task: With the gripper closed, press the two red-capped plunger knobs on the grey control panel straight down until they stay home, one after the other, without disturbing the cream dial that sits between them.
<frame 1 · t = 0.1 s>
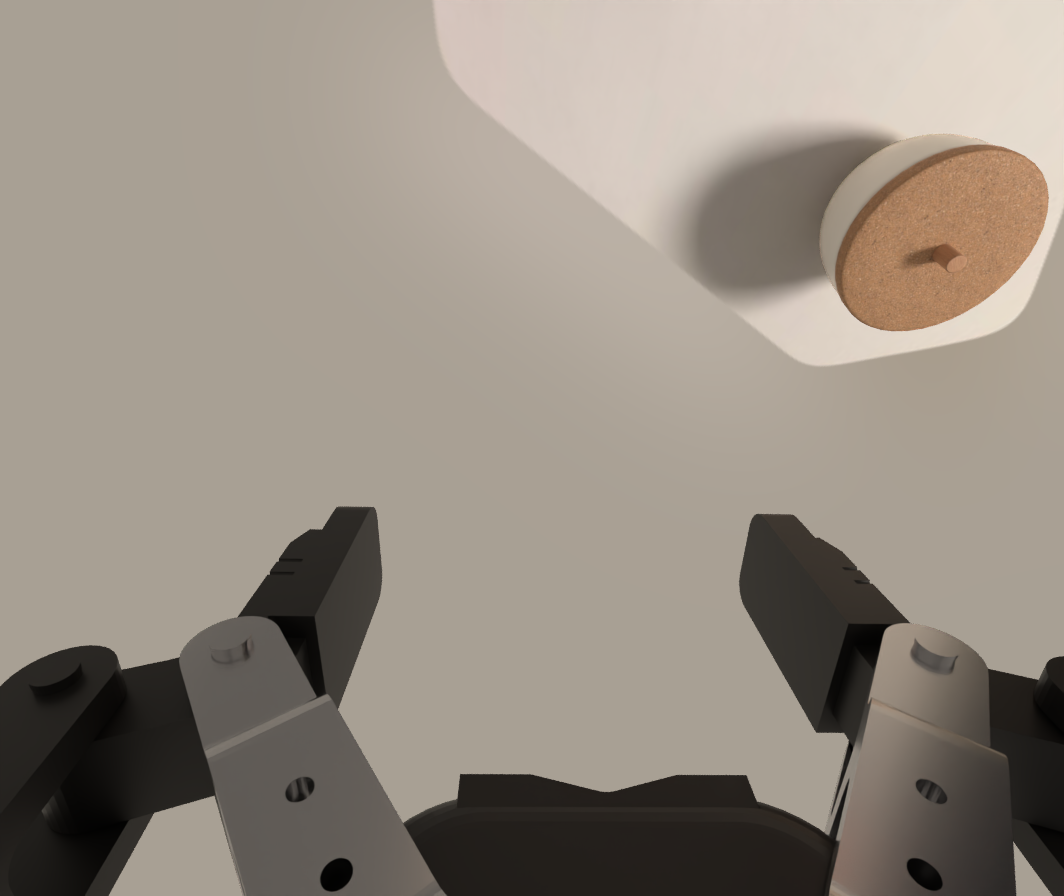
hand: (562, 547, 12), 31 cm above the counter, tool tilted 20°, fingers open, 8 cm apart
lidded jar: (877, 200, 38), on the counter
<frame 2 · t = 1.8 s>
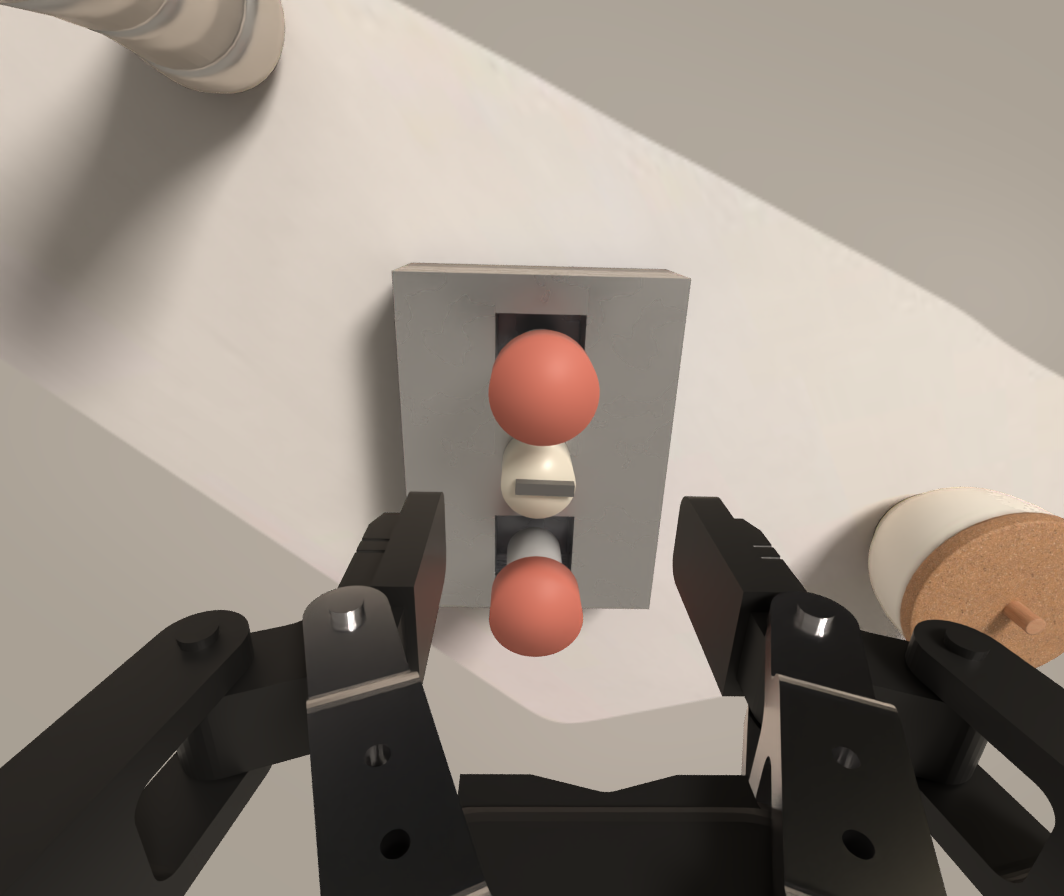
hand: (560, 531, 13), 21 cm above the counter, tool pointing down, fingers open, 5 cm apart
knob outer: (534, 581, 29), point 8 cm above the counter, slide at 0.0 cm
lidded jar: (916, 531, 38), on the counter
panel: (534, 428, 35), on the counter
dial: (536, 461, 30), point 5 cm above the counter, touching panel
knob inner: (541, 375, 25), point 8 cm above the counter, slide at 0.0 cm
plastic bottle: (230, 26, 27), on the counter
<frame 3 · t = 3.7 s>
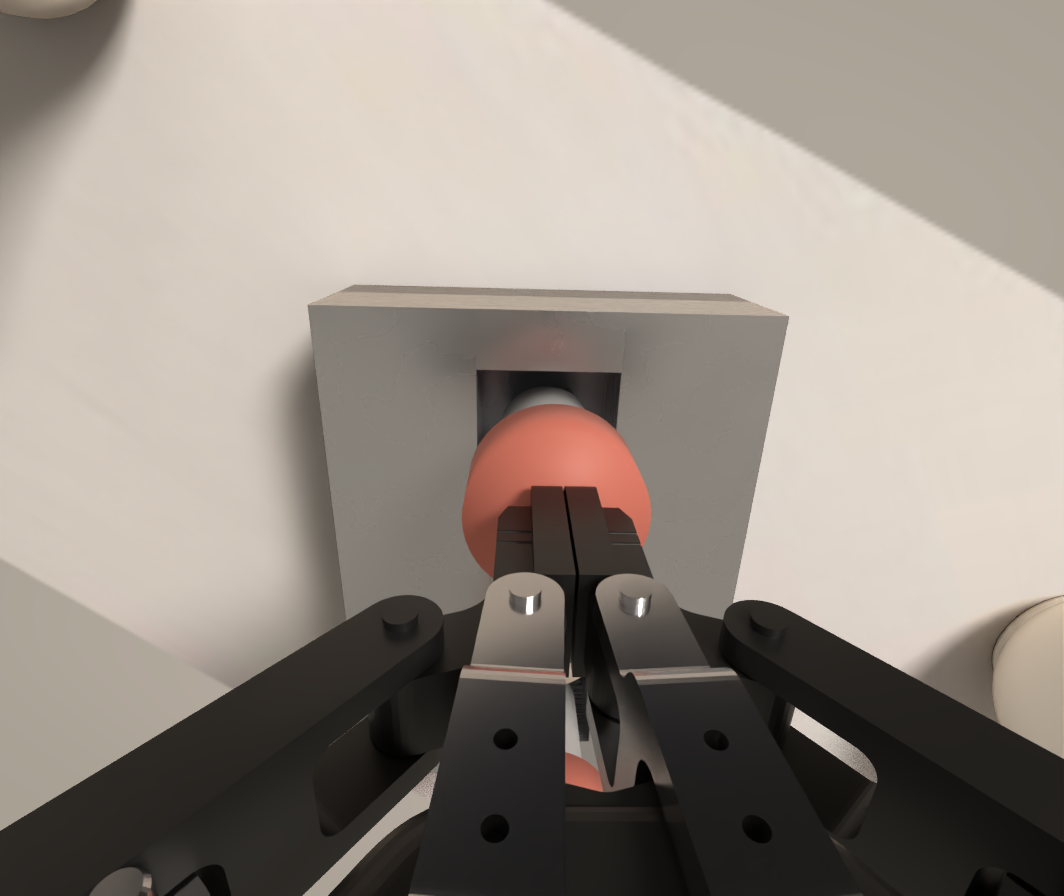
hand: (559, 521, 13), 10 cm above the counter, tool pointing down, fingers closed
knob outer: (538, 770, 19), point 8 cm above the counter, slide at 0.0 cm
lidded jar: (1051, 641, 28), on the counter
panel: (536, 514, 25), on the counter
knob inner: (550, 467, 16), point 7 cm above the counter, slide at 0.8 cm, touching gripper
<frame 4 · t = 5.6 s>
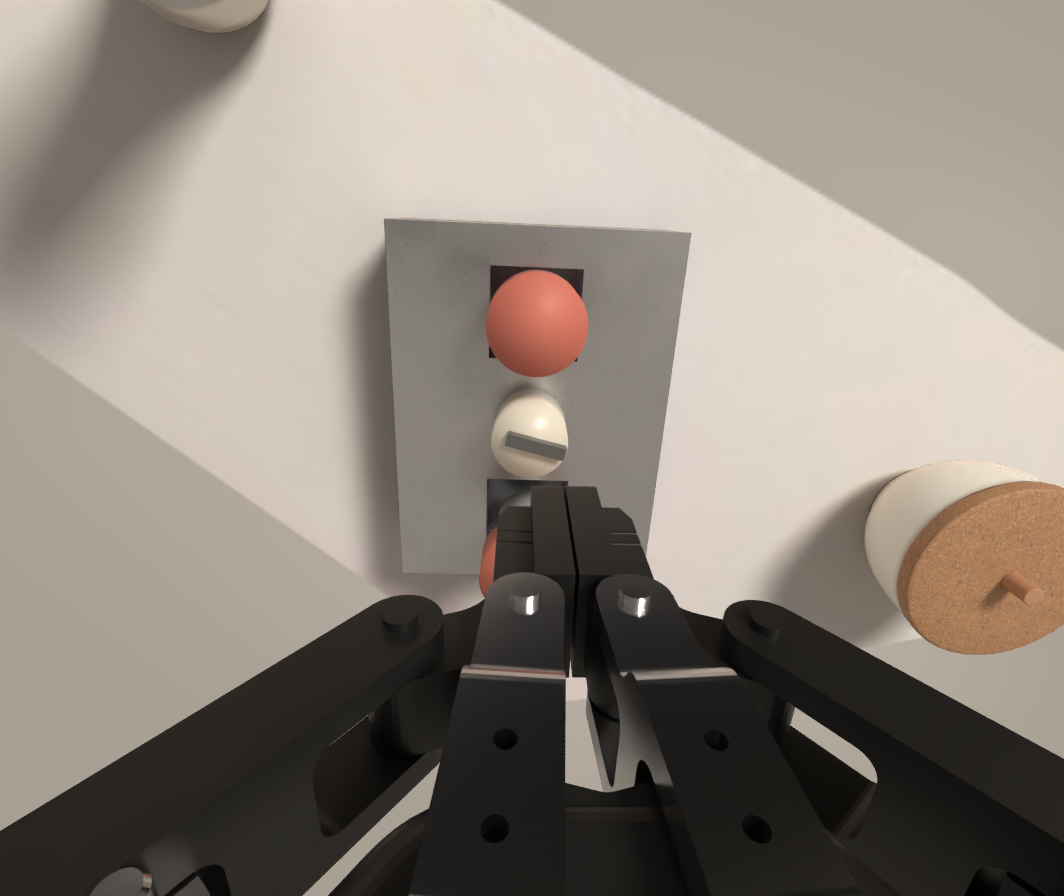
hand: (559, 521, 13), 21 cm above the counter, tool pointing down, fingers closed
knob outer: (526, 544, 29), point 8 cm above the counter, slide at 0.0 cm
lidded jar: (913, 507, 38), on the counter
panel: (528, 394, 34), on the counter
dial: (530, 422, 29), point 5 cm above the counter, touching panel
knob inner: (535, 315, 27), point 5 cm above the counter, slide at 2.7 cm
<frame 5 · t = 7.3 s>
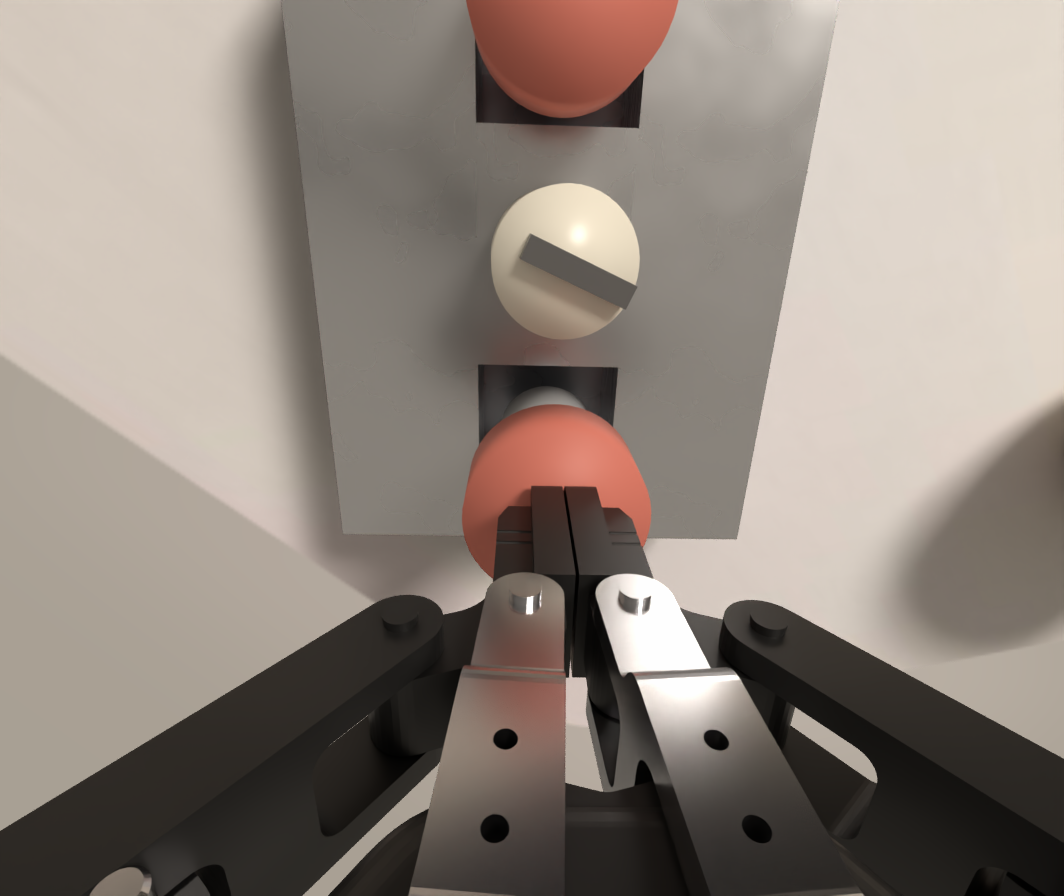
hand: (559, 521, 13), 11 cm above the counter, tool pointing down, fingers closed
knob outer: (550, 467, 16), point 8 cm above the counter, slide at 0.1 cm, touching gripper
panel: (545, 245, 21), on the counter
dial: (553, 254, 16), point 5 cm above the counter, touching panel
knob inner: (562, 23, 14), point 5 cm above the counter, slide at 2.7 cm
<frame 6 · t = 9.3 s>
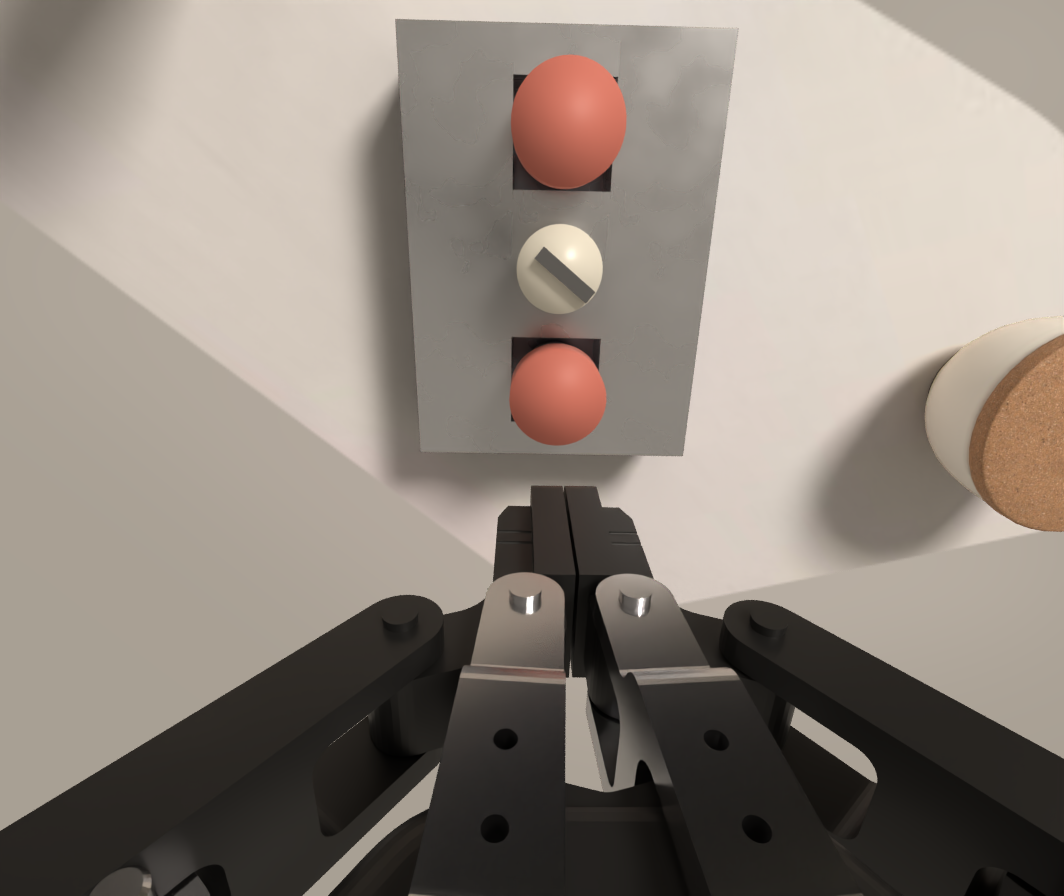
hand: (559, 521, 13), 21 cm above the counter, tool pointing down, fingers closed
knob outer: (554, 382, 28), point 5 cm above the counter, slide at 2.7 cm
lidded jar: (976, 389, 34), on the counter
panel: (554, 260, 31), on the counter
dial: (558, 267, 27), point 5 cm above the counter, touching panel
knob inner: (564, 134, 24), point 5 cm above the counter, slide at 2.7 cm
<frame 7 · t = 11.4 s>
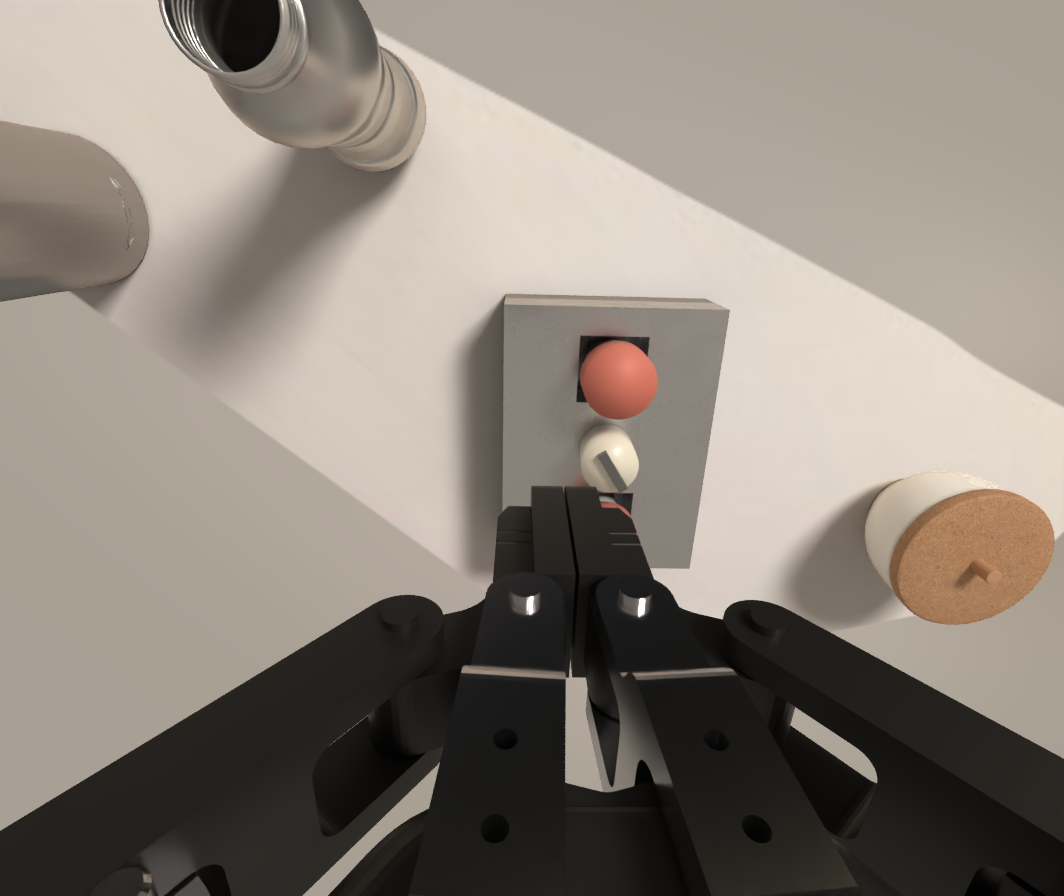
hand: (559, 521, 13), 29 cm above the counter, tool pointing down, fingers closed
knob outer: (600, 522, 40), point 5 cm above the counter, slide at 2.7 cm
lidded jar: (904, 509, 47), on the counter
panel: (596, 424, 43), on the counter
dial: (605, 449, 38), point 5 cm above the counter, touching panel
knob inner: (612, 371, 36), point 5 cm above the counter, slide at 2.7 cm
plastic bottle: (379, 117, 35), on the counter
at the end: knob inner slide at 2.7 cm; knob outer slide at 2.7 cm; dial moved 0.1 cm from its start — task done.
